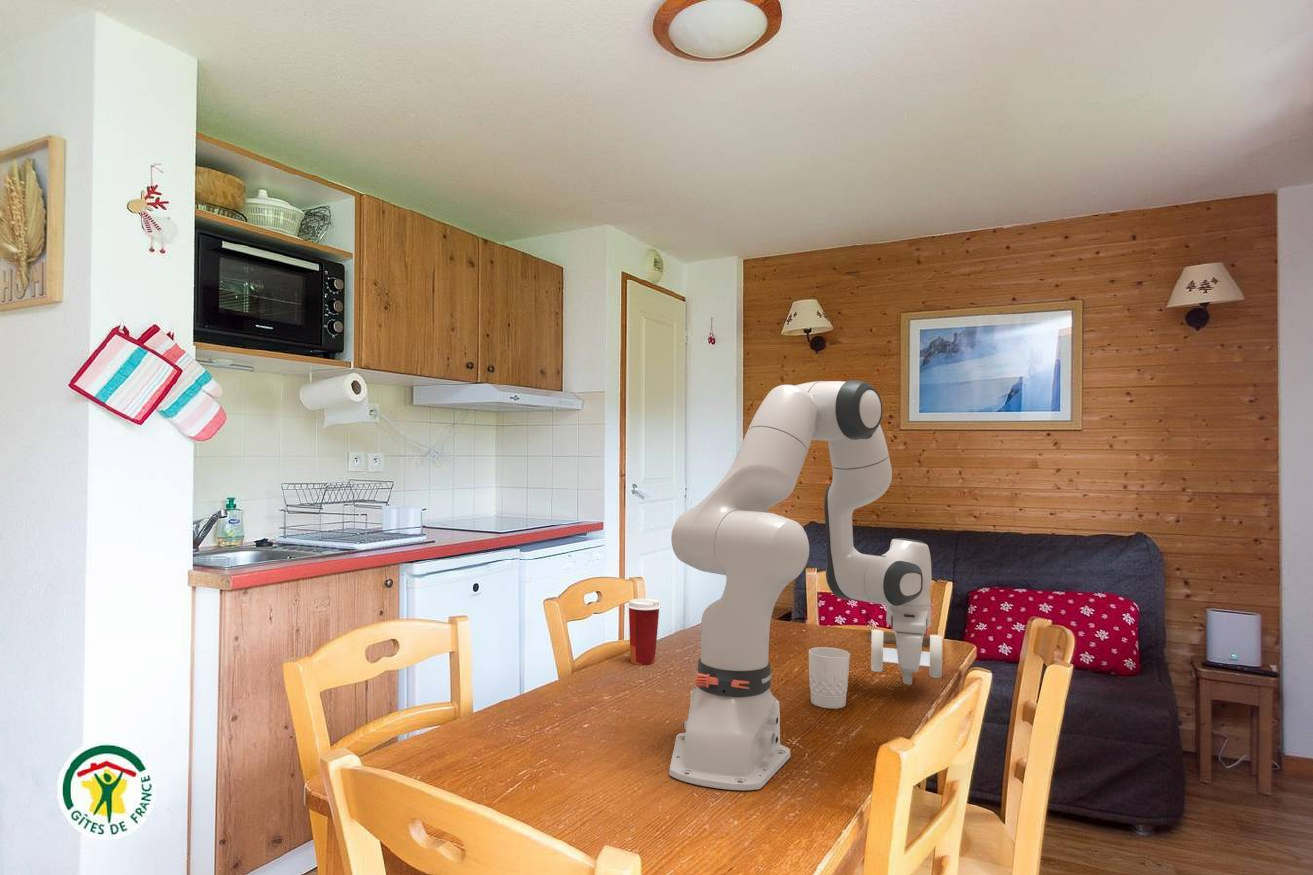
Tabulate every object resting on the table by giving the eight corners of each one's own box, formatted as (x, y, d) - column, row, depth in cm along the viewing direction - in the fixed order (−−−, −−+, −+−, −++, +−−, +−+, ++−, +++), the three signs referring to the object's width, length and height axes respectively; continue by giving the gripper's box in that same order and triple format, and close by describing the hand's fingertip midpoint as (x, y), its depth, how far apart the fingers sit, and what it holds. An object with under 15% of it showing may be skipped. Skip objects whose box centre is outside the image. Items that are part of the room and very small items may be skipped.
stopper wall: (940, 648, 194) (940, 638, 194) (868, 641, 199) (868, 631, 199) (940, 646, 196) (940, 636, 196) (868, 639, 201) (868, 630, 201)
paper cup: (665, 661, 175) (667, 600, 175) (647, 668, 168) (649, 605, 169) (637, 655, 179) (639, 596, 179) (618, 662, 173) (620, 601, 173)
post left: (882, 672, 170) (883, 632, 170) (870, 671, 171) (871, 631, 171) (882, 669, 173) (883, 630, 173) (871, 668, 173) (871, 628, 174)
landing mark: (936, 667, 175) (936, 666, 175) (874, 661, 180) (874, 660, 180) (933, 653, 189) (933, 652, 189) (875, 647, 193) (875, 646, 193)
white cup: (849, 711, 143) (850, 658, 143) (807, 707, 145) (808, 655, 145) (847, 698, 151) (848, 648, 151) (807, 695, 152) (808, 645, 152)
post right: (942, 678, 166) (942, 637, 167) (929, 677, 167) (930, 636, 167) (941, 675, 169) (942, 635, 169) (929, 674, 170) (929, 634, 170)
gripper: (892, 605, 169) (891, 667, 168) (892, 624, 149) (891, 694, 149) (922, 607, 167) (921, 670, 166) (926, 627, 147) (925, 698, 147)
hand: (907, 682), depth 157 cm, fingers closed
